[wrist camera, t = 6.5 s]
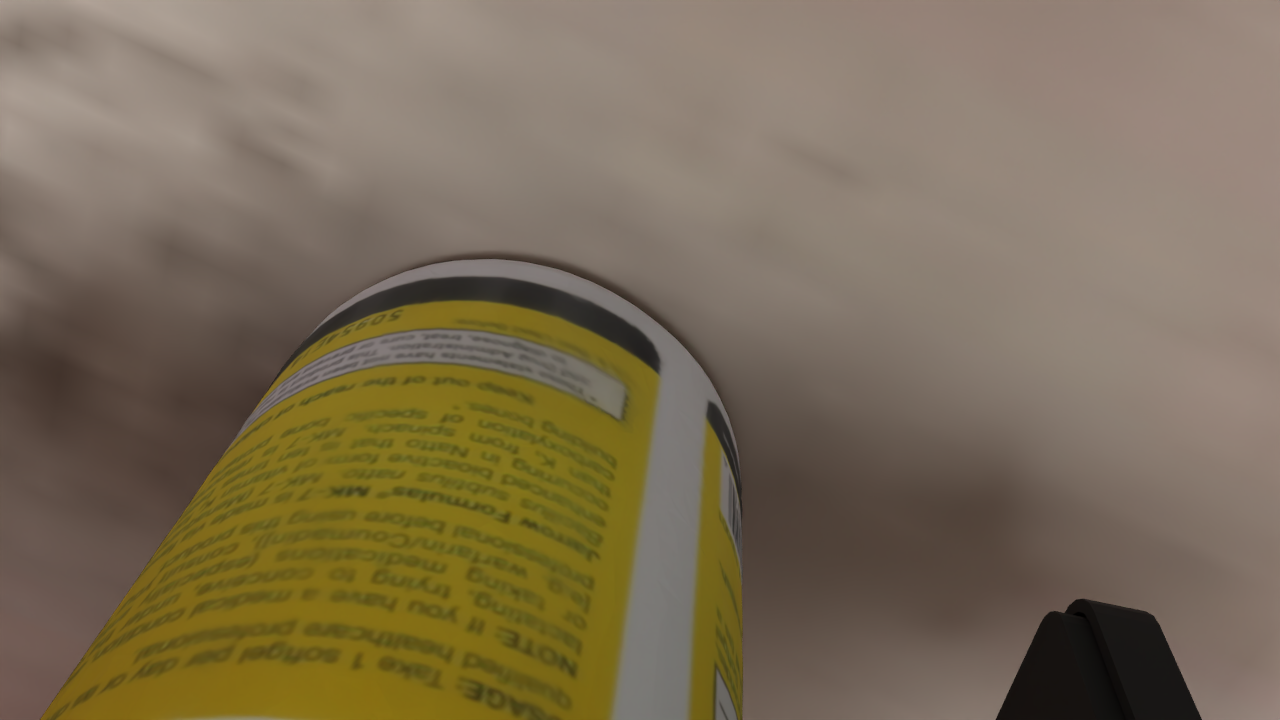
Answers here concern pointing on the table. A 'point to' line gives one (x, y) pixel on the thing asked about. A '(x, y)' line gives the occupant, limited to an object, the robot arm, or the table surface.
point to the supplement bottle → (451, 525)
